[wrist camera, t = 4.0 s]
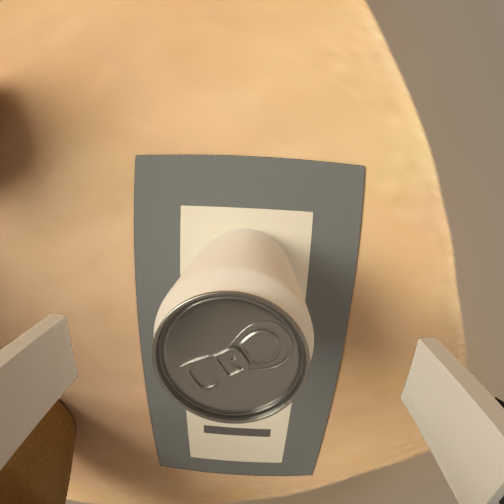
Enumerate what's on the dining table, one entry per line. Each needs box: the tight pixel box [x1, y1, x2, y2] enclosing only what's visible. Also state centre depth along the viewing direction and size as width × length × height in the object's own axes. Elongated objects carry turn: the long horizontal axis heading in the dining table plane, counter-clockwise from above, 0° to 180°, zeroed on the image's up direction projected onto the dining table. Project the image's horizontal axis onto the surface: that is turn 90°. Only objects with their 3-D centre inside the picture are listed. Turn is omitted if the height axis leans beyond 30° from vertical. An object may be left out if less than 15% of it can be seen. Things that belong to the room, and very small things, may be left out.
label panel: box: [134, 155, 365, 476], centre depth 24 cm, size 16×30×1 cm, turn 177°
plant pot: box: [0, 400, 76, 504], centre depth 19 cm, size 15×15×16 cm
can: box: [152, 228, 314, 424], centre depth 16 cm, size 6×6×12 cm
